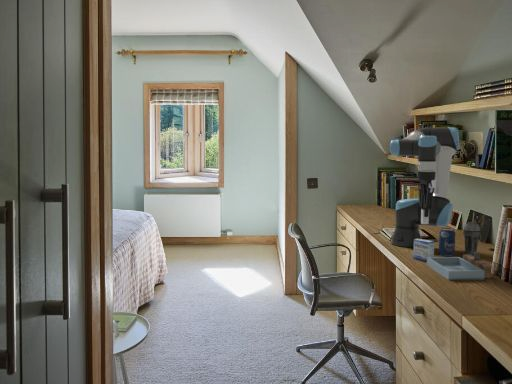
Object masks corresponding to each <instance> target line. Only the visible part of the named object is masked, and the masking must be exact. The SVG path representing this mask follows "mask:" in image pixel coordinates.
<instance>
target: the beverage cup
mask: <svg viewBox="0 0 512 384" xmlns="http://www.w3.org/2000/svg"><path fill="white" fill-rule="evenodd" d="M474 219H475V212H474V211H473V213H472V219H471V220H472V221H468V222H467V223H465V224H464V227H463V234H464V253H465V254H464V255H472V256H474V252H478V244H479V237H480V234H481V227H480V225H479V224H478V223H477V222H475V221H474Z"/></svg>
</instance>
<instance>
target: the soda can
mask: <svg viewBox="0 0 512 384" xmlns="http://www.w3.org/2000/svg"><path fill="white" fill-rule="evenodd" d="M438 238H439V239H438V253H439V254H440V256H443V255H444V257H453V256H454V254H455V252H456V232H455V229H454V228H449V227H445V228H444V227H442V228H441V229H440V231H439V235H438Z"/></svg>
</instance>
